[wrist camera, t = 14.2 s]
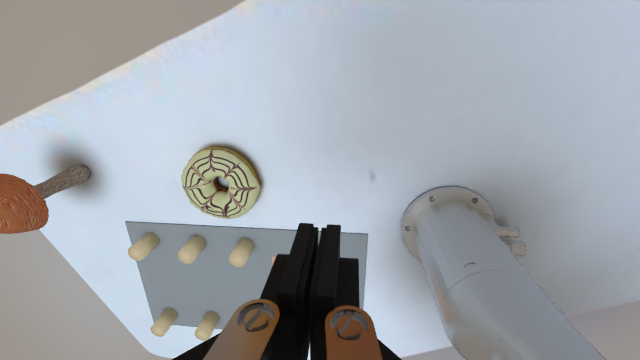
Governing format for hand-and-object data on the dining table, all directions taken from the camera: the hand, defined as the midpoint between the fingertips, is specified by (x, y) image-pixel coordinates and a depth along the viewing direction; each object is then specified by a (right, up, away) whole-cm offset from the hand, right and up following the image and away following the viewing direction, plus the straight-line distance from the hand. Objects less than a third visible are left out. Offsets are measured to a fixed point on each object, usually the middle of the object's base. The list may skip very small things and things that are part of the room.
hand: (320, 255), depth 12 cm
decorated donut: (-14, +3, +32) cm, 35 cm away
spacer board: (-12, -15, +39) cm, 43 cm away
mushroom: (-37, +4, +34) cm, 50 cm away
